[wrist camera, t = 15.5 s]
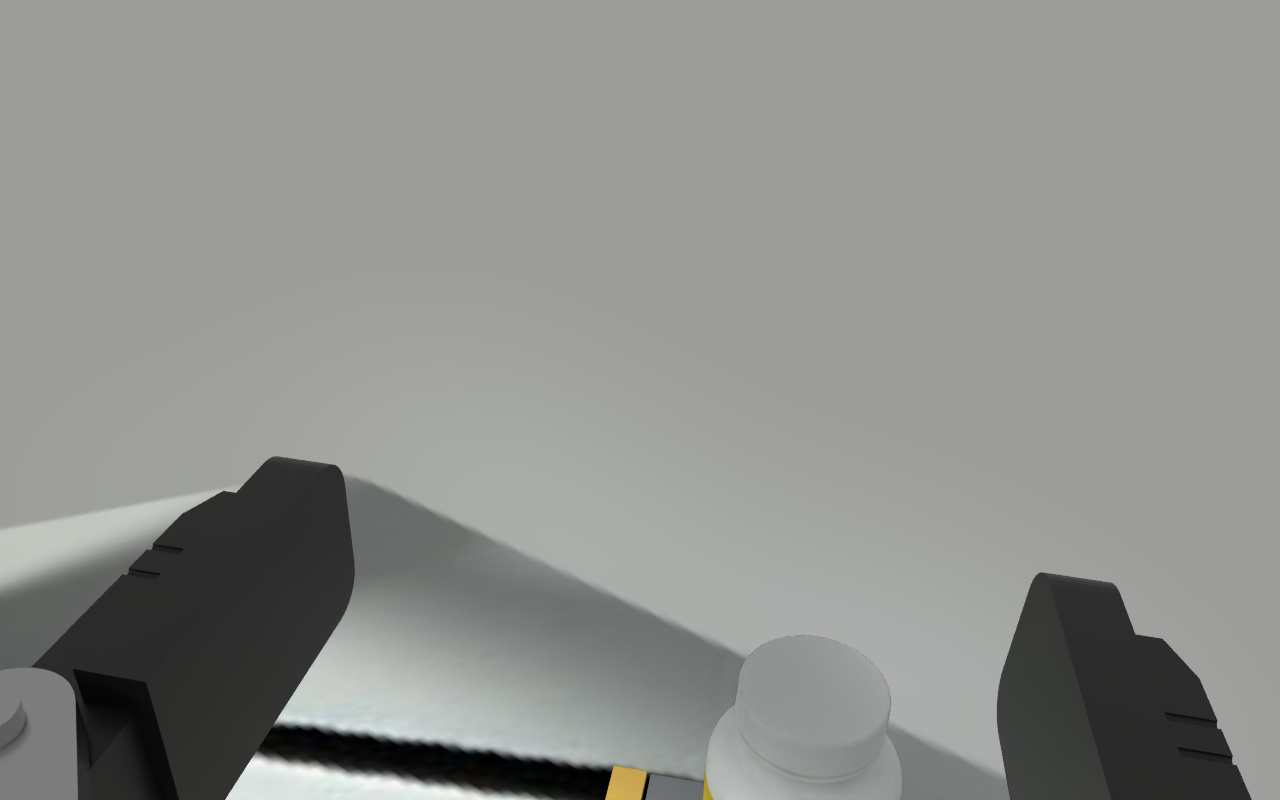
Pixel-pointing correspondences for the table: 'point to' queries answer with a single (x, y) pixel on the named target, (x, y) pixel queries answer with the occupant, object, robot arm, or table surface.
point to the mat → (651, 786)
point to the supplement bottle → (805, 728)
